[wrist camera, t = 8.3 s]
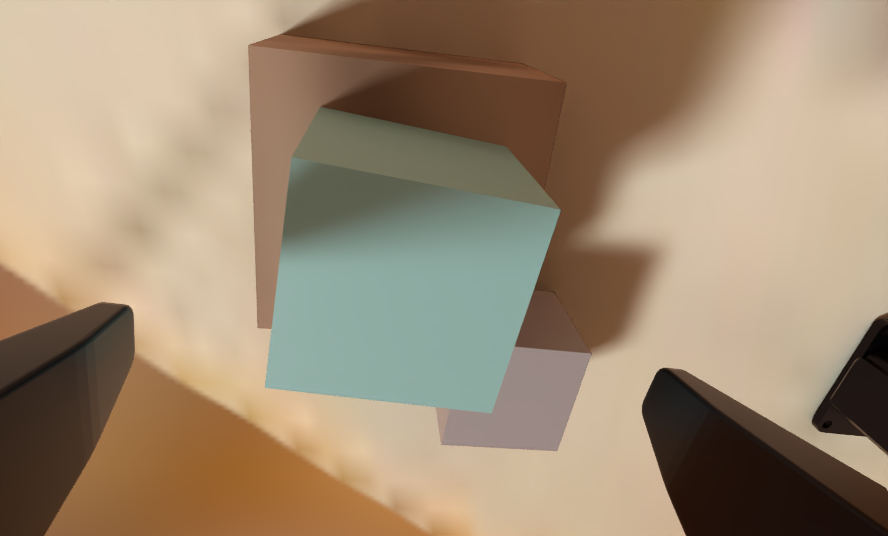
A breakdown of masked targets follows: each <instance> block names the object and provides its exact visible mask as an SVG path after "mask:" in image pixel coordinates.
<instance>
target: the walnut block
mask: <svg viewBox="0 0 888 536" xmlns="http://www.w3.org/2000/svg"><path fill="white" fill-rule="evenodd" d="M248 53H249V83H250V113H251V143H252V173H253V203H254V233H255V263H256V293H257V323H258V328H266V329H272V321H273V313H274V304H275V295H276V286H277V278H278V269H279V260H280V252H281V243H282V234H283V225H284V217H285V208H286V199H287V190H288V182H289V173H290V164H291V157H292V155H293V153H294V152H295V150H296V148H297V146H298V145H299V143H300V141H301V140H302V138H303V136H304V134H305V133H306V131H307V129H308V127H309V126H310V124H311V122H312V120H313V119H314V117H315V115H316V114H317V112H318V110H319V108H320V107H324V108H329V109H334V110H338V111H343V112H348V113H352V114H357V115H362V116H366V117H371V118H376V119H380V120H385V121H390V122H394V123H399V124H404V125H408V126H413V127H418V128H422V129H427V130H432V131H436V132H441V133H446V134H450V135H455V136H460V137H464V138H469V139H473V140H478V141H483V142H487V143H492V144H497V145H501V146H506V147H507V148H508V149H509V150H510V151H511V153H512V154H513V155H514V156H515V157H516V158H517V159H518V161H519V162H520V163H521V164H522V165H523V166H524V168H525V169H526V170H527V171H528V172H529V173H530V174H531V176H532V177H533V178H534V179H535V180H536V181H537V183H538V184H539V185H540V186H541V187H542V188H543V190H544V188H545V183H546V178H547V174H548V169H549V164H550V159H551V154H552V150H553V145H554V140H555V135H556V131H557V126H558V121H559V116H560V111H561V107H562V102H563V97H564V92H565V88H566V82H563V81H561V80H559V79H557V78H554V77H552V76H550V75H547V74H545V73H543V72H540V71H538V70H536V69H534V68H531V67H529V66H527V65H524V64H520V63H512V62H503V61H495V60H487V59H479V58H471V57H462V56H454V55H446V54H438V53H430V52H421V51H413V50H405V49H397V48H389V47H380V46H372V45H364V44H356V43H348V42H339V41H331V40H323V39H315V38H307V37H298V36H290V35H282V34H280V35H277V36H274V37H271V38H268V39H265V40H262V41H259V42H256V43H253V44H250V45H248Z"/></svg>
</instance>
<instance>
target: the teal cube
mask: <svg viewBox="0 0 888 536" xmlns="http://www.w3.org/2000/svg"><path fill="white" fill-rule="evenodd" d="M560 212H561V209H560V208H559V207H558V206H557V205H556V203H555V202H554V201H553V200H552V199H551V198H550V196H549V195H548V194H547V193H546V192H545V191H544V190H543V188H542V187H541V186H540V185H539V184H538V183H537V181H536V180H535V179H534V178H533V177H532V176H531V174H530V173H529V172H528V171H527V170H526V169H525V168H524V166H523V165H522V164H521V163H520V162H519V161H518V159H517V158H516V157H515V156H514V155H513V154H512V153H511V151H510V150H509V149H508V148H507V147H506V146H501V145H497V144H492V143H487V142H483V141H478V140H473V139H469V138H464V137H460V136H455V135H450V134H446V133H441V132H436V131H432V130H427V129H422V128H418V127H413V126H408V125H404V124H399V123H394V122H390V121H385V120H380V119H376V118H371V117H366V116H362V115H357V114H352V113H348V112H343V111H338V110H334V109H329V108H324V107H320V108H319V110H318V112H317V114H316V115H315V117H314V119H313V120H312V122H311V124H310V126H309V127H308V129H307V131H306V133H305V134H304V136H303V138H302V140H301V141H300V143H299V145H298V146H297V148H296V150H295V152H294V153H293V155H292V157H291V164H290V173H289V182H288V190H287V199H286V208H285V217H284V225H283V234H282V243H281V252H280V260H279V269H278V278H277V286H276V295H275V304H274V313H273V321H272V330H271V339H270V348H269V356H268V365H267V374H266V382H265V388H271V389H280V390H289V391H297V392H306V393H315V394H324V395H333V396H342V397H350V398H359V399H368V400H377V401H386V402H395V403H403V404H412V405H421V406H430V407H439V408H448V409H456V410H465V411H474V412H483V413H492V411H493V408H494V405H495V402H496V399H497V396H498V393H499V390H500V387H501V384H502V381H503V379H504V376H505V373H506V370H507V367H508V364H509V361H510V358H511V355H512V352H513V349H514V346H515V343H516V340H517V337H518V335H519V332H520V329H521V326H522V323H523V320H524V317H525V314H526V311H527V308H528V305H529V302H530V299H531V296H532V294H533V291H534V288H535V285H536V282H537V279H538V276H539V273H540V270H541V267H542V264H543V261H544V258H545V255H546V253H547V250H548V247H549V244H550V241H551V238H552V235H553V232H554V229H555V226H556V223H557V220H558V217H559V214H560Z"/></svg>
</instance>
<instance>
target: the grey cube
mask: <svg viewBox="0 0 888 536" xmlns="http://www.w3.org/2000/svg"><path fill="white" fill-rule="evenodd" d="M591 354H592V353H591V352H590V350H589V348H588V347H587V345H586V344H585V342H584V340H583V339H582V337H581V335H580V334H579V332H578V330H577V329H576V327H575V325H574V324H573V322H572V320H571V319H570V317H569V316H568V314H567V312H566V311H565V309H564V307H563V306H562V304H561V302H560V301H559V299H558V297H557V296H556V294H555V292H549V291H540V290H534V291H533V294H532V296H531V299H530V302H529V305H528V308H527V311H526V314H525V317H524V320H523V323H522V326H521V329H520V332H519V335H518V337H517V340H516V343H515V346H514V349H513V352H512V355H511V358H510V361H509V364H508V367H507V370H506V373H505V376H504V379H503V381H502V384H501V387H500V390H499V393H498V396H497V399H496V402H495V405H494V408H493V411H492V413H483V412H474V411H465V410H456V409H448V408H439V407H436V411H437V418H438V425H439V432H440V439H441V445H455V446H473V447H492V448H510V449H528V450H546V451H557V450H558V447H559V444H560V442H561V439H562V436H563V433H564V430H565V427H566V425H567V422H568V419H569V416H570V413H571V411H572V408H573V405H574V402H575V399H576V396H577V394H578V391H579V388H580V385H581V382H582V380H583V377H584V374H585V371H586V368H587V365H588V363H589V360H590V357H591Z"/></svg>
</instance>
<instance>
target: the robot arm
mask: <svg viewBox="0 0 888 536" xmlns="http://www.w3.org/2000/svg"><path fill="white" fill-rule="evenodd" d="M134 353H135V342H134V315H133V311H132V308H131V307H130V306H128V305H124V304H115V303H107V302H101V303H97V304H95V305H92V306H90V307H87V308H84V309H82V310H79V311H77V312H74V313H71V314H69V315H66V316H64V317H61V318H58V319H56V320H53V321H50V322H48V323H45V324H43V325H40V326H37V327H35V328H32V329H29V330H27V331H24V332H22V333H19V334H16V335H14V336H11V337H9V338H6V339H3V340H1V341H0V536H44V535H45V534H46V532H47V530H48V528H49V527H50V525H51V524H52V522H53V520H54V518H55V517H56V515H57V513H58V512H59V510H60V508H61V507H62V505H63V503H64V501H65V500H66V498H67V496H68V495H69V493H70V491H71V490H72V488H73V486H74V485H75V483H76V481H77V479H78V478H79V476H80V474H81V473H82V471H83V469H84V468H85V466H86V464H87V462H88V461H89V459H90V457H91V455H92V453H93V451H94V450H95V447H96V445H97V443H98V441H99V439H100V437H101V434H102V432H103V430H104V428H105V425H106V423H107V421H108V419H109V416H110V414H111V411H112V409H113V407H114V405H115V403H116V400H117V398H118V396H119V393H120V391H121V389H122V386H123V384H124V382H125V380H126V377H127V375H128V373H129V371H130V368H131V366H132V363H133V359H134ZM642 415H643V419H644V422H645V425H646V428H647V431H648V434H649V437H650V441H651V444H652V447H653V450H654V453H655V456H656V459H657V462H658V466H659V469H660V472H661V475H662V478H663V481H664V484H665V487H666V490H667V492H668V495H669V497H670V500H671V502H672V504H673V507H674V509H675V511H676V514H677V516H678V518H679V521H680V523H681V525H682V528H683V530H684V532H685V535H686V536H888V491H887V489H886V488H885V487H883V486H882V485H880V484H878V483H876V482H875V481H873V480H871V479H870V478H868V477H866V476H864V475H863V474H861V473H859V472H858V471H856V470H854V469H852V468H851V467H849V466H847V465H846V464H844V463H842V462H840V461H839V460H837V459H835V458H834V457H832V456H830V455H828V454H827V453H825V452H823V451H822V450H820V449H818V448H816V447H815V446H813V445H811V444H810V443H808V442H806V441H804V440H803V439H801V438H799V437H798V436H796V435H794V434H792V433H791V432H789V431H787V430H786V429H784V428H782V427H780V426H779V425H777V424H775V423H774V422H772V421H770V420H769V419H767V418H765V417H763V416H762V415H760V414H758V413H757V412H755V411H753V410H751V409H750V408H748V407H746V406H745V405H743V404H741V403H739V402H738V401H736V400H734V399H733V398H731V397H729V396H727V395H726V394H724V393H722V392H721V391H719V390H717V389H715V388H714V387H712V386H710V385H709V384H707V383H705V382H703V381H702V380H700V379H698V378H697V377H695V376H693V375H691V374H690V373H688V372H686V371H684V370H681V369H673V368H662V369H660V370H659V371H658V372H657V373H656V375H655V377H654V379H653V381H652V383H651V386H650V388H649V390H648V392H647V394H646V396H645V399H644V401H643V404H642ZM812 424H813V426H814V427H815V428H816V429H817V430H819V431H820V432H825V433H835V434H845V435H855V436H865V437H868V438H869V439H870V440H871V441H872V442H873V443H874V444H875V445H877V446H878V447H879V448H880V449H881V450H882V451H883V452H884V453H886V454H887V455H888V319H882V320H879V321H877V322H876V323H874V324H873V326H872V327H871V328H870V330H869V332H868V333H867V335H866V336H865V338H864V339H863V341H862V342H861V344H860V346H859V347H858V349H857V350H856V352H855V353H854V355H853V357H852V358H851V360H850V361H849V363H848V364H847V366H846V367H845V369H844V371H843V372H842V374H841V375H840V377H839V378H838V380H837V382H836V383H835V385H834V386H833V388H832V389H831V391H830V392H829V394H828V396H827V397H826V399H825V400H824V402H823V403H822V405H821V407H820V408H819V410H818V411H817V413H816V414H815V416H814V417H813V419H812Z"/></svg>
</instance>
